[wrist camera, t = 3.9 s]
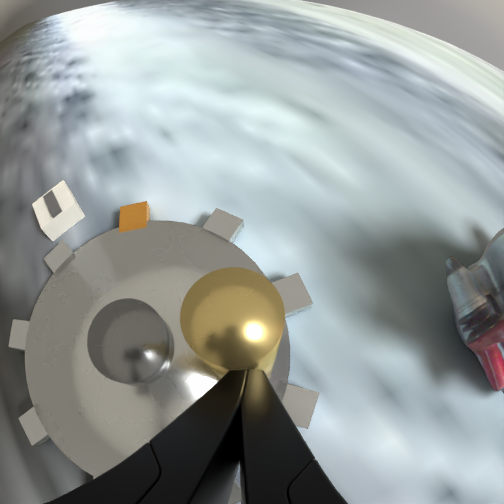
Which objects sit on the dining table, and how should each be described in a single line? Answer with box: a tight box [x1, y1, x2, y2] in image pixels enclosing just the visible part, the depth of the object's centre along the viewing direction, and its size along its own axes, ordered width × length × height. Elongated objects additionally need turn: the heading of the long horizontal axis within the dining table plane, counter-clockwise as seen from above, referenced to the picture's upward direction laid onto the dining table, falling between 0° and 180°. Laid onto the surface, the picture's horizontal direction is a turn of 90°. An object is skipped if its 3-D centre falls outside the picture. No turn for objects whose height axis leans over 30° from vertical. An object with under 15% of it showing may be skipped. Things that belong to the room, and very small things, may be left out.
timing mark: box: [32, 180, 85, 241], centre depth 19 cm, size 3×3×2 cm
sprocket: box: [8, 201, 319, 504], centre depth 11 cm, size 18×18×9 cm
